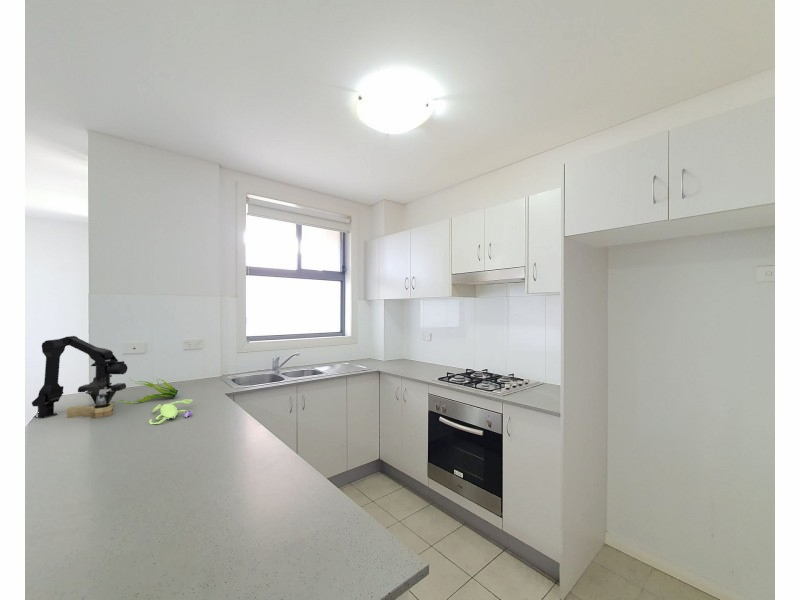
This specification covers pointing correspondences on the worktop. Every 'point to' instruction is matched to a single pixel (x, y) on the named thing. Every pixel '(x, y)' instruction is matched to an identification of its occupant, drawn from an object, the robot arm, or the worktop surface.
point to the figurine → (170, 411)
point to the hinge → (90, 411)
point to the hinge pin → (101, 400)
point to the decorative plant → (166, 393)
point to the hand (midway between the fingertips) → (102, 403)
